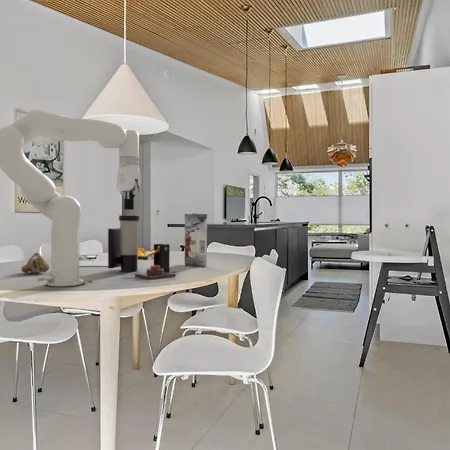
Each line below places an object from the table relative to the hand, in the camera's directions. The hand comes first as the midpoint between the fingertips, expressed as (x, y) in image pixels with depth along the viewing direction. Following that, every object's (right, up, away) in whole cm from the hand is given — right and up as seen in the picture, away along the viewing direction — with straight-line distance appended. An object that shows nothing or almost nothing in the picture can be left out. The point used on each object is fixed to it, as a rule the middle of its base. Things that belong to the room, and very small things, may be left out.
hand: (128, 209), depth 169 cm
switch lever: (+8, -19, +9) cm, 22 cm away
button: (+11, -24, -1) cm, 26 cm away
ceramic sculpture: (-43, -27, +15) cm, 53 cm away
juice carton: (+23, -27, +43) cm, 56 cm away
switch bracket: (+11, -27, +12) cm, 31 cm away
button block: (+11, -27, -1) cm, 29 cm away
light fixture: (-5, -27, +16) cm, 32 cm away
